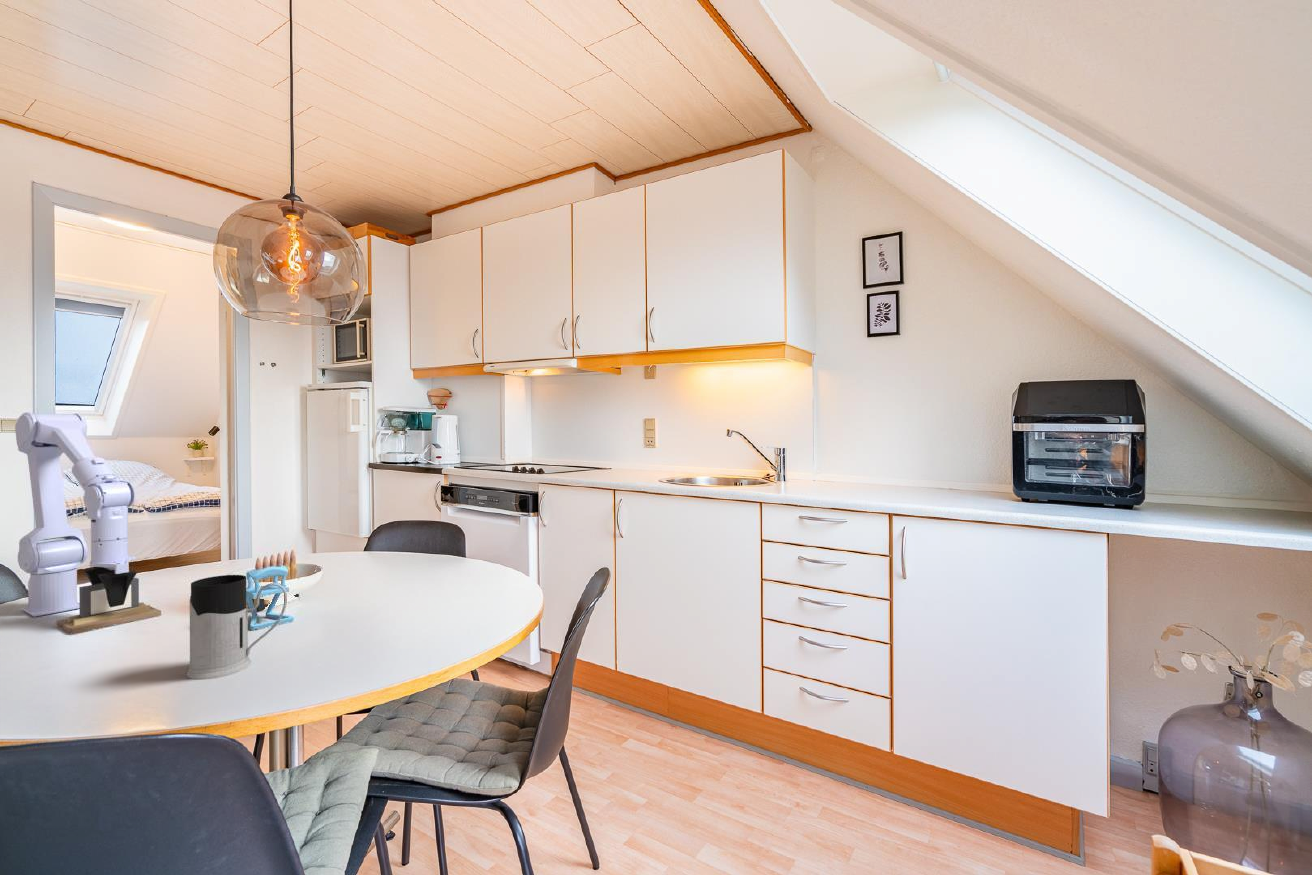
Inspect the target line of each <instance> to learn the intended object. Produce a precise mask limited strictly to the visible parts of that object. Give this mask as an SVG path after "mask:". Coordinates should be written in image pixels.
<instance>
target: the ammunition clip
mask: <svg viewBox="0 0 1312 875" xmlns="http://www.w3.org/2000/svg"><path fill="white" fill-rule="evenodd" d="M269 558H270V559H268V556H267V555H265V556H264V557H263V561H262V562H261V558H260V557H257V558H256V561H255V567H254V569H256V570H262V569H264V568H267V567H277V566H278V565H282V566H285V567H286V568H287V569H288V573H287V576H286V579H285V580H289V579H294V578H298V574H297V573H298V567H297V561H296V560H297V559H296V552H295V551H294V549H291V552H290V555H289V552H288V551H285V552H284V554H283V558H282V554H281V552H278V553H277V556H276V559H275V555H274V554H271V555H270V557H269ZM273 578H274V577H268V578H264V579H261V580H259V581H258V582H259V583H260V582H273ZM281 579H282V576H278V581H281ZM254 583H255V582H254V581H253V584H254ZM294 596H295V597H299V598H300V593H299V594H296V595H294ZM252 600H253V603H254V606H256V599H253V598H252ZM268 604H270V601H269V600H264V599H259V605H258V607H257V608H256V612H257V613H260V612H264V611H265V610H264V609H265V607H267V606H268ZM263 610H264V611H263Z"/></svg>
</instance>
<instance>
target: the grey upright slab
mask: <svg viewBox="0 0 1312 875" xmlns="http://www.w3.org/2000/svg"><path fill="white" fill-rule="evenodd" d="M139 579H140V578H138V577H134V578H133V580H132V582H131V584H130V586H129V589H128V592H127V595H126V599H125V602H124V605H120V606H115V607H110V606H109V604H108V600H107V594H106V590H105V587H104V584H103V583H101V584H95V585H89V584H88V585H84V586H79V591H78V592H79V595H78V596H79V603H80V608H79V615H80V618H85V617H90V616H95V615H100V614H105V613H110V612H115V611H120V610H125V609H130V608H135V607H139V603H140V598H139V597H140V586H139V584H140V580H139Z"/></svg>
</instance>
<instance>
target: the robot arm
mask: <svg viewBox="0 0 1312 875" xmlns="http://www.w3.org/2000/svg"><path fill="white" fill-rule="evenodd" d="M14 429H15V430H14V431H15V437H16V438H15V439H16V445H17V451H18V452H21V453H23V454H24V455H25V454H26V456H27V460H28V461H27V462H28V471H29V479H30V480H29V481H30V488H31V495H32V505H33V511H34V512H33V513H34V521H35V528H34V529H32V530H31V531H30V532H28V533H27V534H26V535H24V536H22V538H21V539H20V540H19V542H18V552H17V563H18V566H19V568H20V569H21V570H22V571H24V572H25V573H26V574H29V575H30V576H29V578H28V582H27V586H28V587H27V593H28V594H27V599H28V600H27V603H28V604H27V605H28V606H24V607H21V611H23V612H25V613H27V614H28V615H30V616H32V617H34V618H35V617H40V616H46V615H51V614H55V613H56V614H57V613H61V612H67V611H71V610H77V609H80V602H78V570H77V569H78V568H81V567H82V566H81V565H82V564H84V562H86V560H87V558H88V556H89V547H88V544H87V542H86V540H85V537H84V534H83V531H82V530H81V529H78V528H75V527H74V526H72V525H70V524H68V515H67V508H66V498H65V490H64V483H63V482H64V481H63V474H62V473H63V472H62V466H61V456H62V454H64V455H65V456H66V457H67V458H68V459H69V461H70V462H72V463H73V465H72V468H71V474H72V475H73V477H74V479H75V480H76V481H77V482H78V484H79V485H80V487H81V488H82V490H83V491H84V493H83V494H84V495H83V496H82V497H83V499H82V500H83V504H84V506H85V509H86V516H87V518H88V520H90V561H89V566H90V567H92V568H86V569H83V573H84V575H85V576H86V577H87V578H88V580H89V582H90V584H91V585H95V584H101V583H103V584H104V587H105V590H106V594H107V600H108V604H109V606H110V607H115V606H120V605H124V602H125V599H126V595H127V592H128V589H129V586H130V584H131V582H132V580H133V578H136V575H137V570H134V569H133V570H129V569H130V567H129V566H130V564H129V562H130V561H135V560H136V556H133V555H129V508H130V507H131V506H133V504H134V502H135V497H136V494H135V489H134V487H133V484H132V482H130V481H129V480H124V479H123V478H120V477H119V478H118V476H117V474H116V473H115V472H114V470H113V469H112V468H111V466H110V465H109V464H108V462H107V460H106V459H104V458H102V457H100V456H99V457H98V456H95V454H94V452H93V449H92V448H91V446H90V444H89V442H88V440H87V438H86V436H87V432H88V423H87V420H86V419H85V417H84V416H83V415H81V414H80V413H34V412H32V413H31V412H24V413H22V414H21V415H20V416H19V417H18V418H17V421H16V423H15V427H14ZM56 539H58V540H56ZM47 540H50V541H47ZM40 541H43V542H40Z"/></svg>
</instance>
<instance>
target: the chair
mask: <svg viewBox="0 0 1312 875" xmlns="http://www.w3.org/2000/svg"><path fill="white" fill-rule="evenodd" d="M282 565H283V564H282ZM282 565H278V566H277V567H267V568H264V569H262V570H256V569H255V568H253V569H251V570H247V571H246V575H245V576H246V581H247V583H248V584H247V586H246V603H247V604H248V605H247V606H248V608H253V607H255V606H254V603H253V600H252V598H257V594H258V592H259V590H260V589H261V588H262V587H263V586H261V587H260V585H259V582H258V581H259V580H261V579H264V578H268V577H274V578H273V583H276V584H280V583H278V576H282V579H281V584H280V585H282V586H283V587H284V588H285V590H286V592H289V587H286V585H285V579H286V576H287V573H288V569H287V568H286V567H285V566H282ZM254 582H255V587H254ZM281 593H284V592H283V590H282V589H281V588H280V587H278V586H267V587H266V588H264V589H263V590H262V592H261V594H260V597H263V596H266V595H271V594H275V595H274V597H273V599H272V602H271V604H270V605H269V607H268V609H267V610H265V618H268V619H274V620H270V621H267V622H261V623H258V617H259V615H258V612H256V609H254V610H251V611H250V615H251V621H250V625H249V629H251V630H250V631H252V630H253V631H256V630H255V629H258V630H261V629H266V628H265V627H267V628H270V627H269V626H271V627H272V626H273V625H274V624H275V623H276V621H277V620H278V618H279V616H280V614H281V613H275V612H273V610H274V608H275V607H274V606H275V604H276V602H277V600H278V598H279V596H280V594H281ZM293 620H294V621H295V617H294V616H293V615H288V614H283V616H282V618H281V620H280V621H279V623H278V624H280V625H284V624H288V623H287V622H289V623H292V622H291V621H293ZM294 621H293V622H294ZM283 623H284V624H283Z"/></svg>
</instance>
